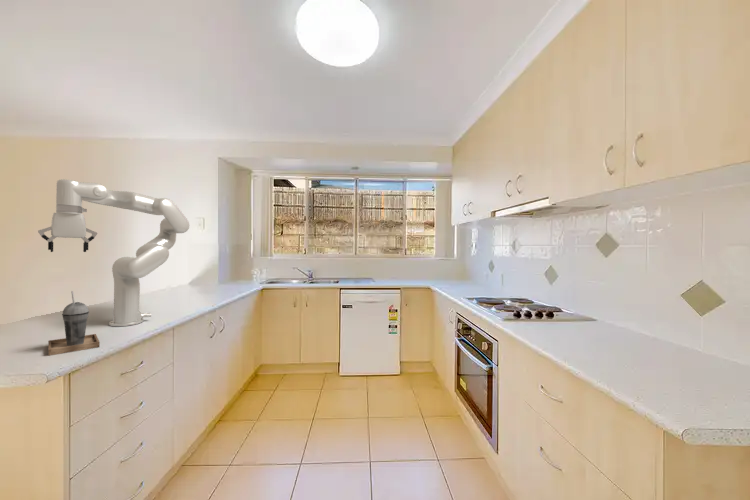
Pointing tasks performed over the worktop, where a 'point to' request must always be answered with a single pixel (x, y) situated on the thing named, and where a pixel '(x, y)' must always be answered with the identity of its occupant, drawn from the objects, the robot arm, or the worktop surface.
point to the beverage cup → (75, 322)
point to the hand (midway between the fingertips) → (68, 251)
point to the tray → (61, 346)
